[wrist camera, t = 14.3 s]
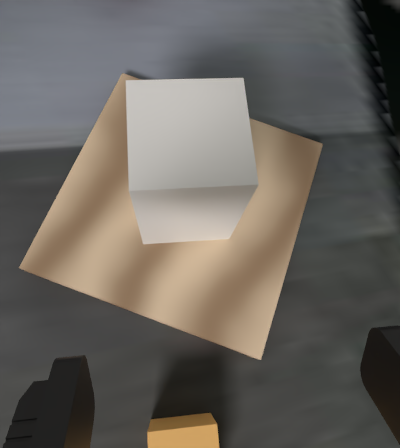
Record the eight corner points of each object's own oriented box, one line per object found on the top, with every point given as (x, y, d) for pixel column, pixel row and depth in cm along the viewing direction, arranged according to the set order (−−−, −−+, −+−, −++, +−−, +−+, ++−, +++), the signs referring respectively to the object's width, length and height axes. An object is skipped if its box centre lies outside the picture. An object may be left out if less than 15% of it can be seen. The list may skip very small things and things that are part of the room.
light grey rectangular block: (143, 244, 28) (128, 190, 18) (140, 165, 30) (125, 80, 20) (229, 239, 28) (258, 184, 19) (220, 162, 30) (243, 77, 21)
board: (24, 270, 27) (19, 267, 26) (123, 81, 33) (122, 73, 32) (257, 359, 27) (260, 359, 26) (318, 150, 32) (322, 144, 31)
